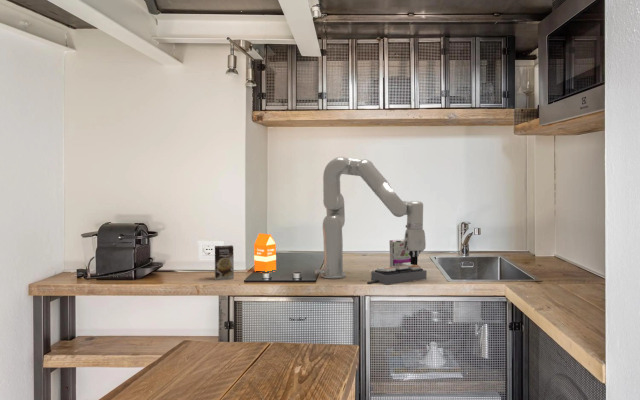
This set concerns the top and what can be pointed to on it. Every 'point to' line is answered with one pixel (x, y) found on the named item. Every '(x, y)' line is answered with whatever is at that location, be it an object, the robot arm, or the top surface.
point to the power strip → (397, 276)
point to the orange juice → (265, 253)
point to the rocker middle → (400, 267)
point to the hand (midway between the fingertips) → (413, 264)
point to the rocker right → (411, 266)
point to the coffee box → (224, 262)
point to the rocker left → (386, 269)
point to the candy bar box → (398, 253)
